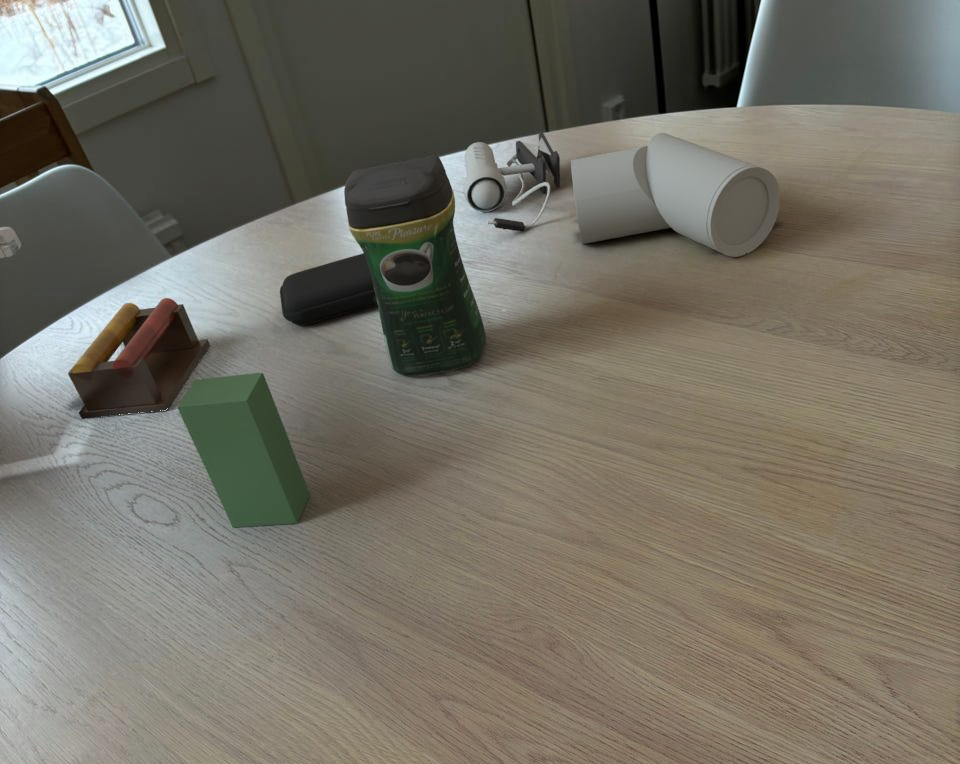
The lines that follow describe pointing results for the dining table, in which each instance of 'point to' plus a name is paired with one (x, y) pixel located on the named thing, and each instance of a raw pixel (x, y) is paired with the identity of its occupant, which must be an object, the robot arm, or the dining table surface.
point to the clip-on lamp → (488, 181)
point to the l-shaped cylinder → (675, 195)
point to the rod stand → (138, 361)
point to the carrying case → (327, 291)
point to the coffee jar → (415, 265)
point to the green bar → (245, 449)
